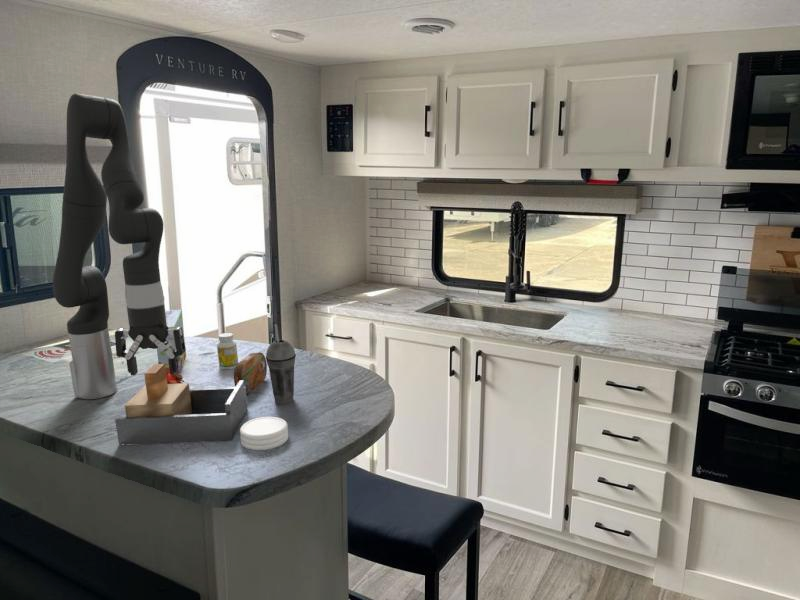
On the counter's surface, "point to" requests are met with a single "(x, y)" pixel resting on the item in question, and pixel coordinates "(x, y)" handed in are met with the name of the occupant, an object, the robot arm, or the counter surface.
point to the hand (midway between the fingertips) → (154, 373)
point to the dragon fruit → (173, 377)
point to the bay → (190, 419)
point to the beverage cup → (281, 369)
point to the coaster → (264, 433)
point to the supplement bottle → (227, 351)
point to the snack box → (172, 321)
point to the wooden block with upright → (159, 396)
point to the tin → (251, 371)
